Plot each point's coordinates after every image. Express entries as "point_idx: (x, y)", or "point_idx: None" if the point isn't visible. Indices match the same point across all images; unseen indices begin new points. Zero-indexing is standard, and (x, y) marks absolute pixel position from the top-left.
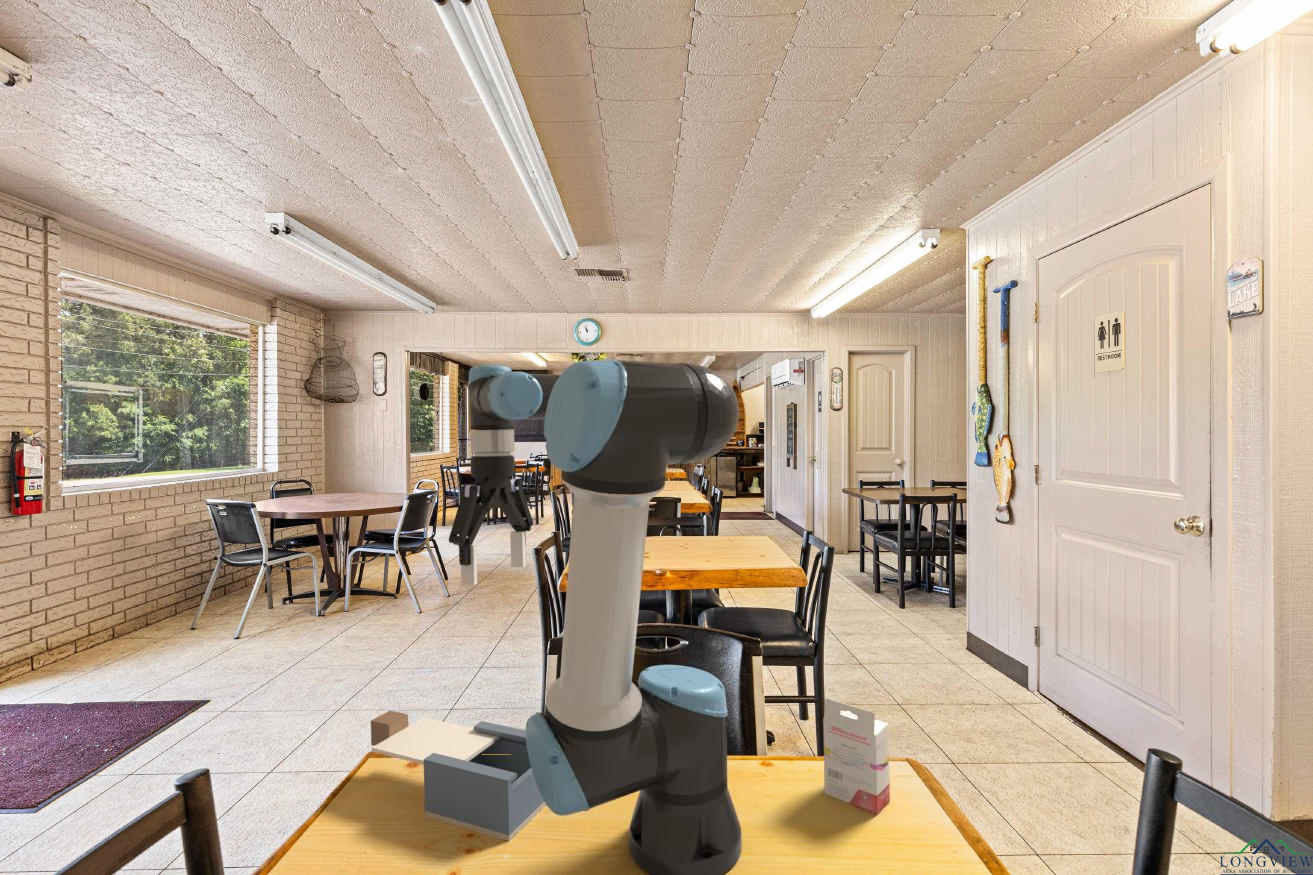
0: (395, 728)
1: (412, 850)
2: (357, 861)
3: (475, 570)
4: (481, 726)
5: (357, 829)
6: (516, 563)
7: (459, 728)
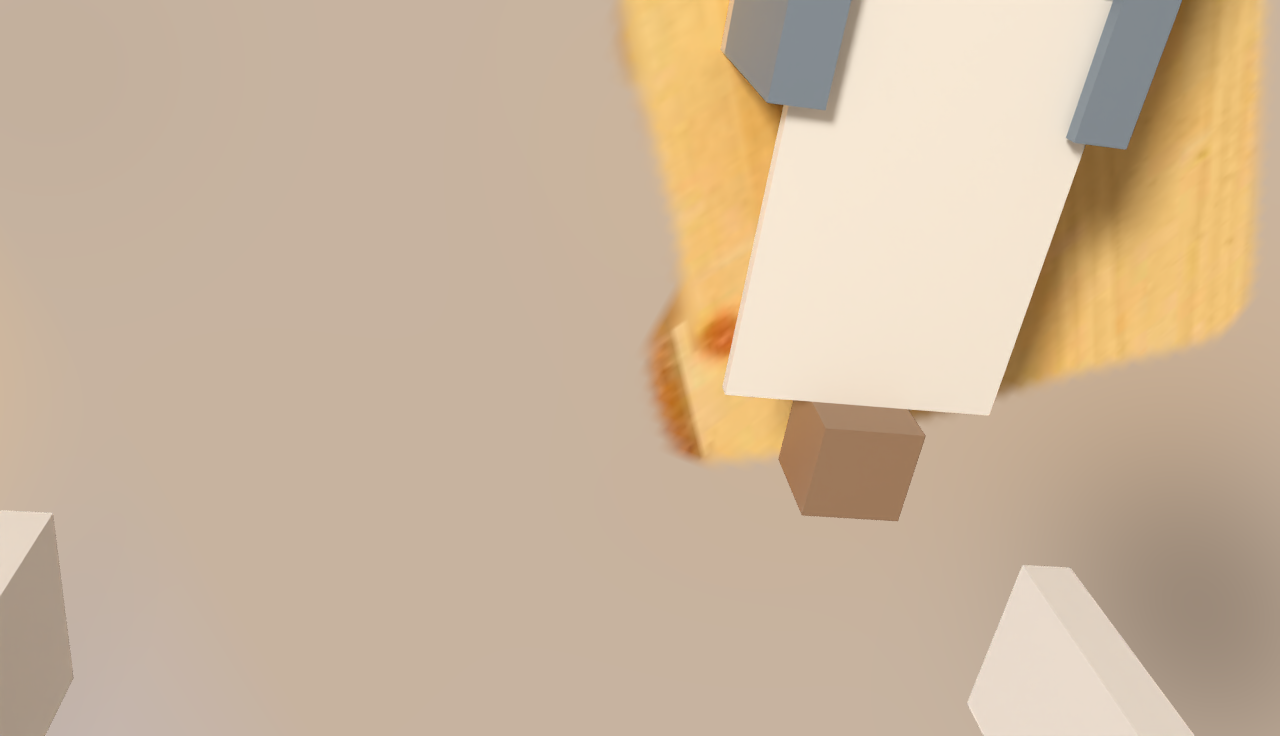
0: (883, 418)
1: (1197, 13)
2: (1241, 147)
3: (1132, 683)
4: (819, 71)
5: (1096, 253)
6: (48, 640)
7: (797, 187)
